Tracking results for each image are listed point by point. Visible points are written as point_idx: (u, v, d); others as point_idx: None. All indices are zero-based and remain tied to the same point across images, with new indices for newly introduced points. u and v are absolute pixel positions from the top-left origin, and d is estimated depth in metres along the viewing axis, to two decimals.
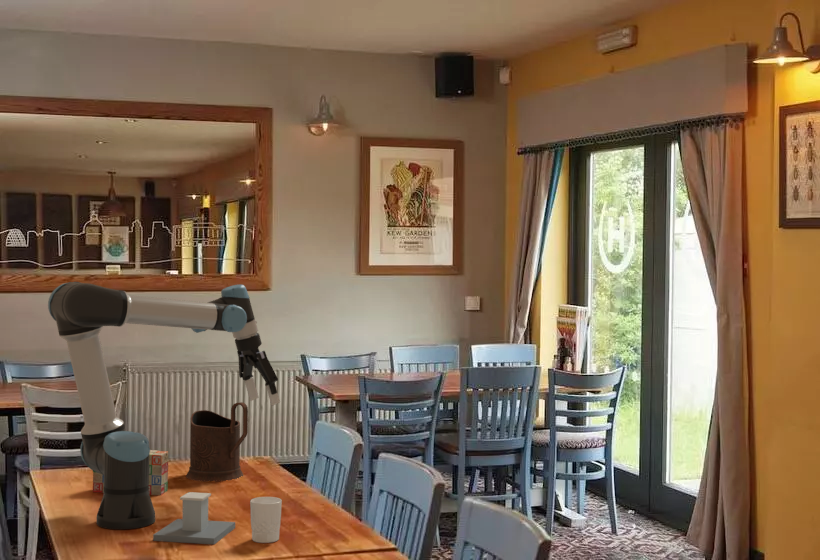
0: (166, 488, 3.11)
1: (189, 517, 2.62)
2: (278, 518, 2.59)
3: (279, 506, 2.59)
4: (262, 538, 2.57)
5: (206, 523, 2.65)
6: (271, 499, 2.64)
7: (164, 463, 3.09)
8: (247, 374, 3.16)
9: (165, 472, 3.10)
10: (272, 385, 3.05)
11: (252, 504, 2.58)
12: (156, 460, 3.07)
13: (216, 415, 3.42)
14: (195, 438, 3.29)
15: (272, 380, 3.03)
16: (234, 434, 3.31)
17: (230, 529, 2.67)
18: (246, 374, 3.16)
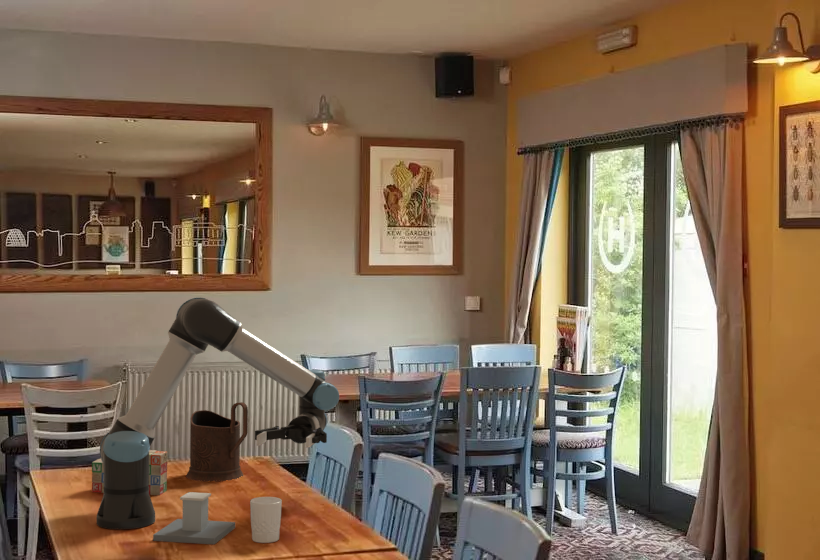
0: (165, 488, 3.11)
1: (189, 517, 2.62)
2: (278, 518, 2.59)
3: (279, 506, 2.59)
4: (262, 538, 2.57)
5: (206, 523, 2.65)
6: (271, 499, 2.64)
7: (163, 463, 3.09)
8: (270, 434, 2.84)
9: (164, 472, 3.10)
10: (318, 438, 2.79)
11: (252, 504, 2.58)
12: (155, 460, 3.07)
13: (216, 415, 3.42)
14: (195, 438, 3.29)
15: (326, 435, 2.81)
16: (234, 434, 3.31)
17: (230, 529, 2.67)
18: (270, 432, 2.84)
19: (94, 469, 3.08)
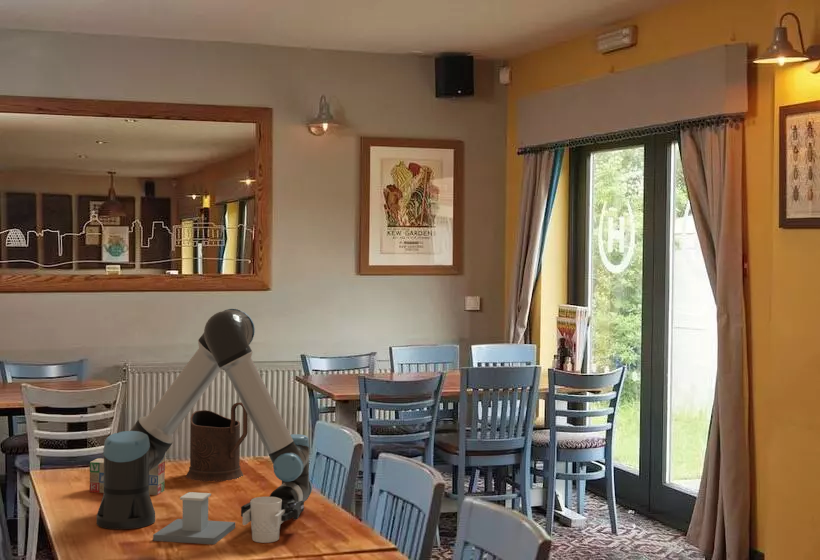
0: (163, 488, 3.11)
1: (189, 517, 2.62)
2: None
3: (279, 506, 2.59)
4: (262, 538, 2.57)
5: (206, 523, 2.65)
6: (271, 499, 2.64)
7: (161, 463, 3.09)
8: None
9: (162, 472, 3.10)
10: (288, 514, 2.61)
11: (252, 504, 2.58)
12: None
13: (216, 415, 3.42)
14: (195, 438, 3.29)
15: (297, 511, 2.62)
16: (234, 434, 3.31)
17: (230, 529, 2.67)
18: None
19: (91, 469, 3.08)
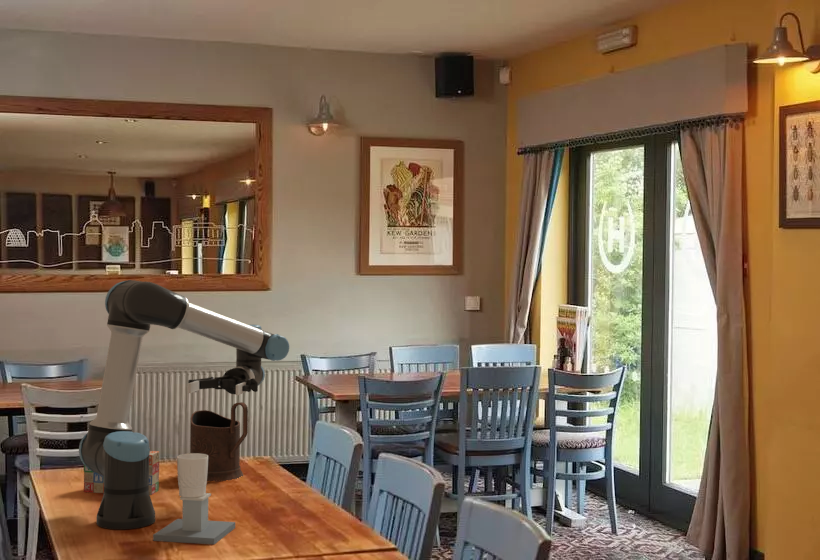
0: (157, 488, 3.11)
1: (189, 517, 2.62)
2: (204, 473, 2.63)
3: (205, 462, 2.63)
4: (188, 493, 2.61)
5: (206, 523, 2.65)
6: (199, 456, 2.68)
7: (155, 463, 3.09)
8: (203, 383, 2.91)
9: (156, 472, 3.10)
10: (249, 386, 2.86)
11: (178, 459, 2.62)
12: None
13: (216, 415, 3.42)
14: (195, 438, 3.29)
15: (257, 384, 2.88)
16: (234, 434, 3.31)
17: (230, 529, 2.67)
18: (203, 382, 2.91)
19: (86, 469, 3.08)
